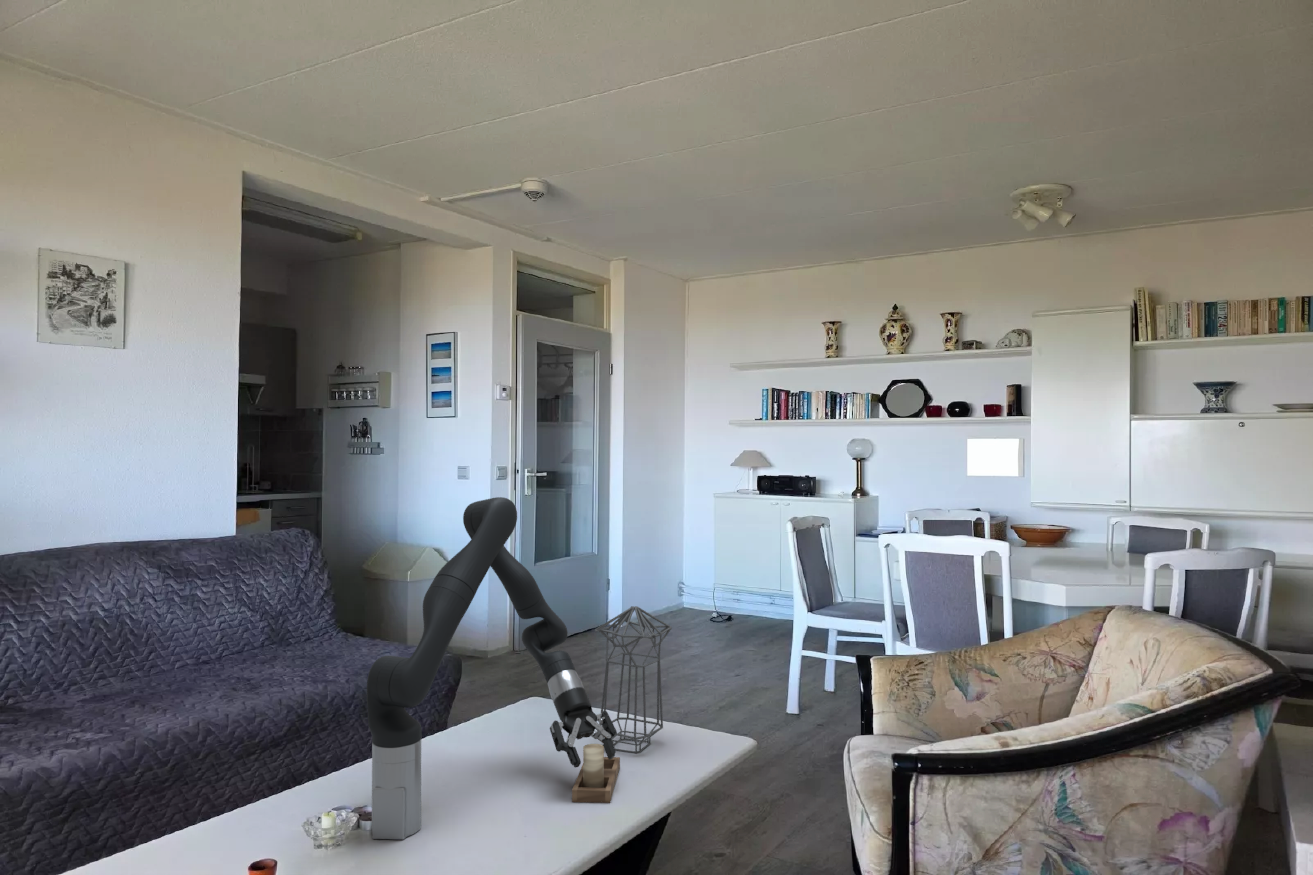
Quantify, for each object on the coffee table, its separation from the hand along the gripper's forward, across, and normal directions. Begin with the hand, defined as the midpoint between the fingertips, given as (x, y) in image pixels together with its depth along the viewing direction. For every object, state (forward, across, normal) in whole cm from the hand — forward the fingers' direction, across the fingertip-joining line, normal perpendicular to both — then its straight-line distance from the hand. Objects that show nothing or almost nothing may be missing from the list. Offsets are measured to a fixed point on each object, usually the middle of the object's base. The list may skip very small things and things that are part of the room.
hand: (595, 761), depth 183 cm
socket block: (+2, +4, +9) cm, 9 cm away
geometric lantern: (-10, +24, +20) cm, 32 cm away
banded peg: (+4, 0, +6) cm, 7 cm away
